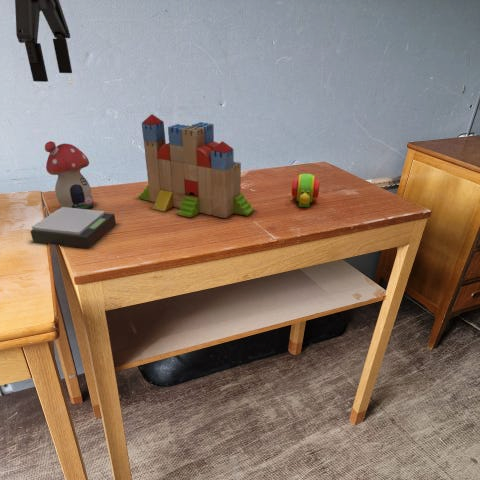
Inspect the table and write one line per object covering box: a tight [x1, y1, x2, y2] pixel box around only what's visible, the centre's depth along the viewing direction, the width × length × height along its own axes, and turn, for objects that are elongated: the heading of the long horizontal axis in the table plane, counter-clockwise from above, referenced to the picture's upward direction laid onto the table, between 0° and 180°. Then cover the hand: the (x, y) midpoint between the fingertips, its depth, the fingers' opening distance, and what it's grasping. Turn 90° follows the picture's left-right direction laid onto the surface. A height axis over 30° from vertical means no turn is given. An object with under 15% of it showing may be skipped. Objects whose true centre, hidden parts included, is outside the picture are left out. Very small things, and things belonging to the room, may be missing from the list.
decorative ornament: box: [44, 140, 94, 210], centre depth 99 cm, size 9×6×15 cm
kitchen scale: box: [30, 206, 117, 249], centre depth 90 cm, size 12×12×3 cm
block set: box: [138, 113, 255, 219], centre depth 99 cm, size 28×14×19 cm, turn 61°
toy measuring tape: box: [291, 173, 321, 208], centre depth 109 cm, size 6×20×7 cm, turn 171°
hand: (54, 77), depth 94 cm, fingers open, 13 cm apart
